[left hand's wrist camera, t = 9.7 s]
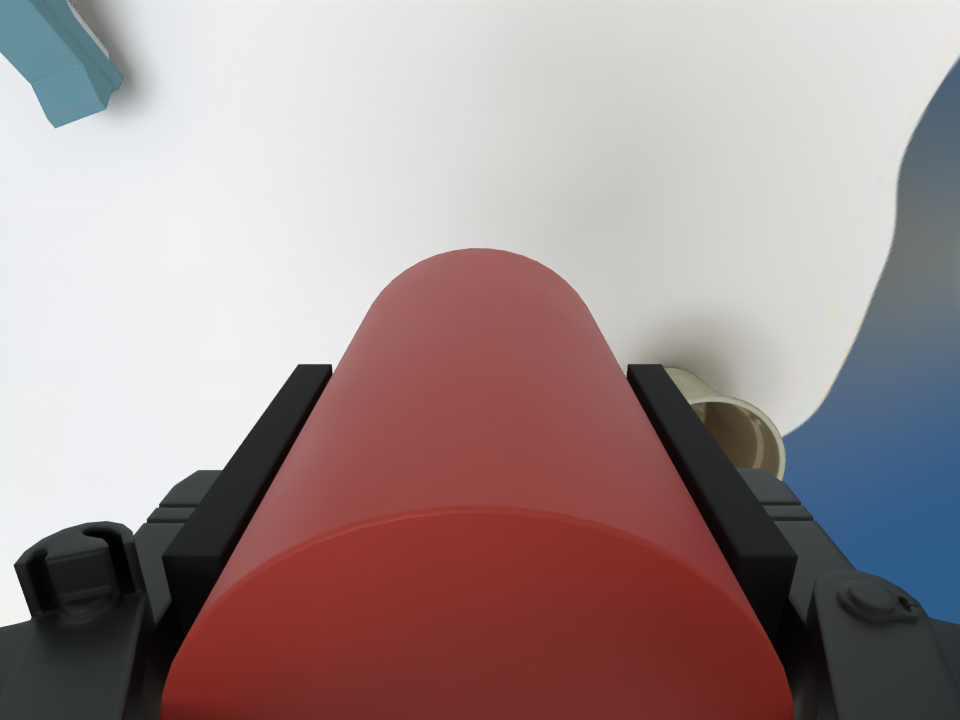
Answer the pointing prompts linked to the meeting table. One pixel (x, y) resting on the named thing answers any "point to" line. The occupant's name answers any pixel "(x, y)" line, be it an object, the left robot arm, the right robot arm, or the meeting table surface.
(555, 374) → the canister
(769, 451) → the flower pot
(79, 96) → the toy gun
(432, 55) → the meeting table surface
